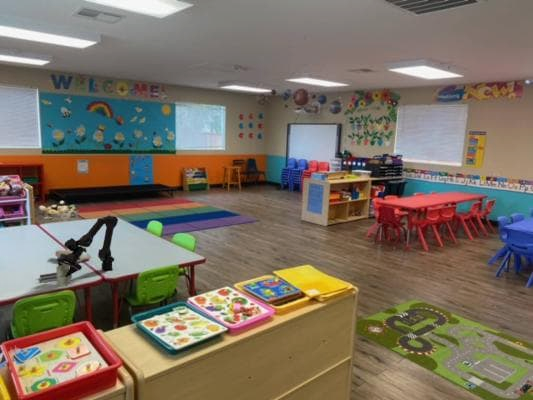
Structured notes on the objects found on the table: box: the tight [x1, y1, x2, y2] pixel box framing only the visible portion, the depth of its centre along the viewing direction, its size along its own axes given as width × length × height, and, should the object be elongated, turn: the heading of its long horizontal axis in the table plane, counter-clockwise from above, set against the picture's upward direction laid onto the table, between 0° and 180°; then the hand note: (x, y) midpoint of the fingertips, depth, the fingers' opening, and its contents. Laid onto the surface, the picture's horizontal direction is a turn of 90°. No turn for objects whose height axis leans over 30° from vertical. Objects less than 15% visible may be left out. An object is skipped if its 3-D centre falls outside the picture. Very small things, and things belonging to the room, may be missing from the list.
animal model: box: [55, 246, 92, 264], centre depth 301 cm, size 13×26×16 cm
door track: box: [39, 272, 73, 284], centre depth 265 cm, size 18×10×2 cm, turn 126°
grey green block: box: [55, 264, 71, 287], centre depth 254 cm, size 6×4×12 cm, turn 151°
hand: (61, 275), depth 253 cm, fingers open, 9 cm apart
